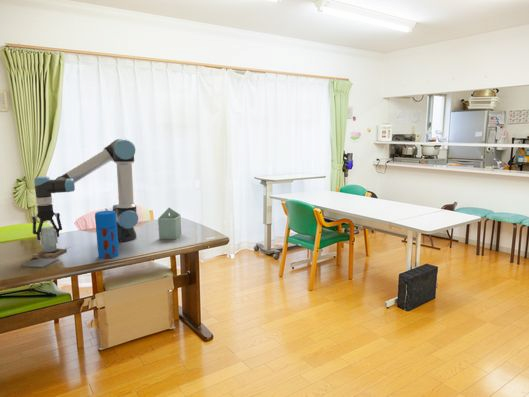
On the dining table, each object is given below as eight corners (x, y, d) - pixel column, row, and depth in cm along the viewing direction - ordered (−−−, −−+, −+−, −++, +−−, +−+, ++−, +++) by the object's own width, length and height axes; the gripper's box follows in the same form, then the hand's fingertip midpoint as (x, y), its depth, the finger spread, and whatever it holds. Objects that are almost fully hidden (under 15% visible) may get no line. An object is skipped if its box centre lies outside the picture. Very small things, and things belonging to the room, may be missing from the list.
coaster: (58, 260, 205) (58, 258, 205) (42, 267, 193) (42, 266, 193) (39, 258, 207) (39, 257, 207) (22, 266, 195) (21, 265, 195)
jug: (41, 249, 215) (38, 227, 212) (54, 246, 219) (52, 225, 217) (46, 255, 205) (43, 231, 202) (60, 252, 209) (57, 229, 207)
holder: (66, 252, 218) (66, 248, 218) (52, 258, 207) (51, 255, 206) (48, 251, 220) (48, 247, 220) (32, 257, 209) (32, 254, 209)
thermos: (102, 253, 217) (98, 210, 212) (121, 252, 218) (118, 210, 213) (95, 259, 206) (91, 214, 202) (115, 258, 207) (112, 214, 203)
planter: (165, 241, 240) (163, 211, 236) (159, 238, 245) (157, 209, 242) (187, 236, 251) (185, 207, 247) (181, 234, 256) (179, 205, 253)
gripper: (24, 207, 199) (30, 249, 203) (66, 203, 212) (70, 242, 216) (22, 205, 205) (27, 246, 209) (62, 201, 218) (66, 239, 222)
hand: (49, 244), depth 213 cm, fingers closed on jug, 7 cm apart
